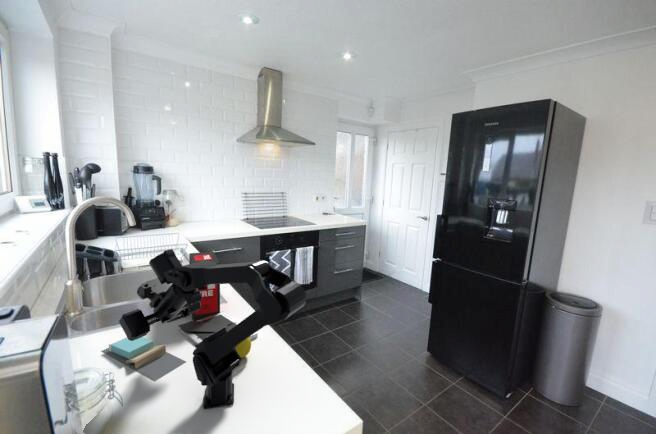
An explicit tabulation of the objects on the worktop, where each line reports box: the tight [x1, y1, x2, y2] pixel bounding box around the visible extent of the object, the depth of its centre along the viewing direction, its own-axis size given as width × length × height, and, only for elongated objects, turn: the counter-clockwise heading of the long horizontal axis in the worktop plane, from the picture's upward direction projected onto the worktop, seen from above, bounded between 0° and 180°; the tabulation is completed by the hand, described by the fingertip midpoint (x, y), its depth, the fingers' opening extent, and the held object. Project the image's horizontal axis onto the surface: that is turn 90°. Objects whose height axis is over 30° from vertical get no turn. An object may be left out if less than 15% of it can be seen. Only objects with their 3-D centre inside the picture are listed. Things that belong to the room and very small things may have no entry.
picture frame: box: [178, 311, 259, 345], centre depth 95 cm, size 16×3×21 cm
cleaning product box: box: [188, 251, 221, 321], centre depth 111 cm, size 16×9×20 cm, turn 28°
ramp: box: [126, 344, 167, 369], centre depth 81 cm, size 5×8×3 cm, turn 153°
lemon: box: [236, 337, 252, 359], centre depth 83 cm, size 6×6×8 cm
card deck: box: [108, 335, 155, 359], centre depth 84 cm, size 2×7×10 cm
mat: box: [101, 345, 187, 382], centre depth 82 cm, size 24×9×1 cm, turn 63°
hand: (150, 328), depth 79 cm, fingers open, 9 cm apart
